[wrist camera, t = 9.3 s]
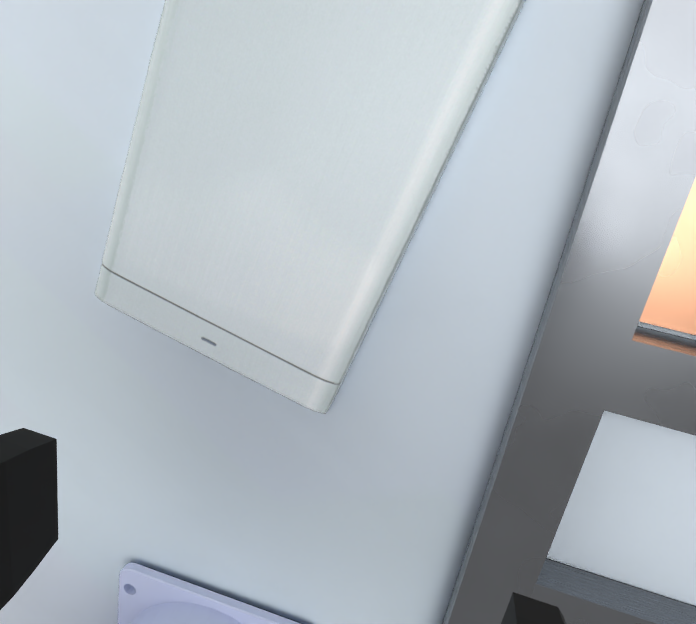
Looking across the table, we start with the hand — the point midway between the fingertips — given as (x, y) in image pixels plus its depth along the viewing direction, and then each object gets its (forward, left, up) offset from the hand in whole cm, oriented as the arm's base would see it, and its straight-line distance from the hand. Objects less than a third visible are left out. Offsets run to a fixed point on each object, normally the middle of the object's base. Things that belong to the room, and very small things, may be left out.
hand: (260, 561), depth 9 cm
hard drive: (+4, +4, -10) cm, 12 cm away
